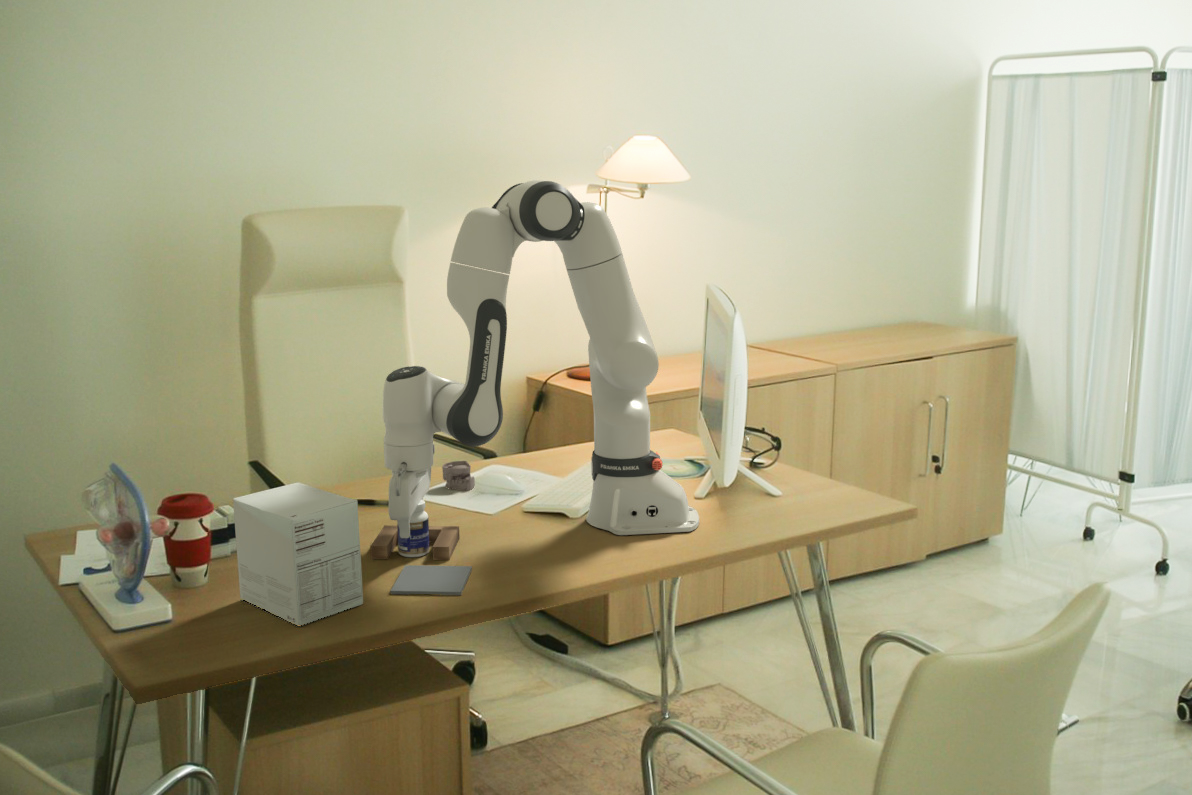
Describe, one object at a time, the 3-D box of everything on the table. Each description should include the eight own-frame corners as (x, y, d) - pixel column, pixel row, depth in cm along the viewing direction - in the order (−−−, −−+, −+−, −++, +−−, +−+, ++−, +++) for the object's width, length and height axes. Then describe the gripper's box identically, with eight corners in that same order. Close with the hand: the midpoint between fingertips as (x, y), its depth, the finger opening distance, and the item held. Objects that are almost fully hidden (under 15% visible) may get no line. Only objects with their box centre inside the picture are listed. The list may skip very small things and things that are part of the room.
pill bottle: (413, 560, 216) (411, 508, 213) (391, 554, 219) (389, 502, 217) (436, 551, 220) (434, 500, 218) (414, 545, 224) (412, 494, 221)
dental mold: (441, 482, 264) (440, 460, 263) (472, 480, 265) (472, 458, 264) (443, 492, 256) (443, 470, 255) (475, 490, 257) (475, 468, 256)
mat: (471, 569, 211) (471, 566, 211) (461, 595, 200) (460, 591, 199) (405, 568, 212) (405, 565, 212) (390, 594, 200) (390, 590, 200)
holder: (459, 538, 227) (459, 526, 226) (449, 559, 216) (448, 546, 215) (385, 537, 228) (384, 525, 227) (371, 558, 217) (370, 545, 216)
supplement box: (366, 604, 196) (361, 499, 192) (298, 629, 186) (291, 519, 182) (305, 578, 207) (299, 479, 203) (237, 601, 198) (229, 497, 194)
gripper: (414, 472, 205) (416, 548, 208) (436, 442, 225) (438, 511, 228) (378, 471, 206) (381, 547, 209) (403, 441, 226) (405, 510, 229)
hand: (411, 528), depth 219 cm, fingers open, 8 cm apart
